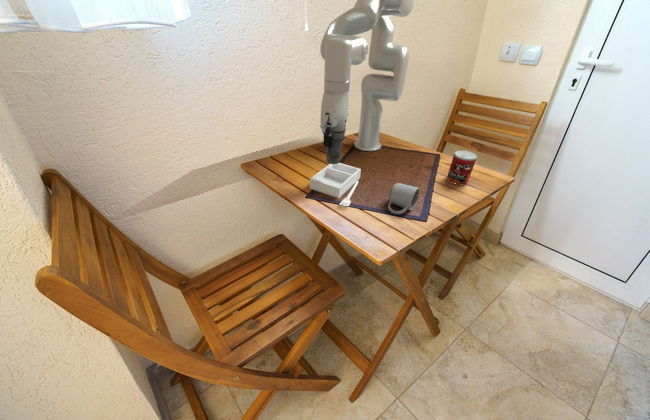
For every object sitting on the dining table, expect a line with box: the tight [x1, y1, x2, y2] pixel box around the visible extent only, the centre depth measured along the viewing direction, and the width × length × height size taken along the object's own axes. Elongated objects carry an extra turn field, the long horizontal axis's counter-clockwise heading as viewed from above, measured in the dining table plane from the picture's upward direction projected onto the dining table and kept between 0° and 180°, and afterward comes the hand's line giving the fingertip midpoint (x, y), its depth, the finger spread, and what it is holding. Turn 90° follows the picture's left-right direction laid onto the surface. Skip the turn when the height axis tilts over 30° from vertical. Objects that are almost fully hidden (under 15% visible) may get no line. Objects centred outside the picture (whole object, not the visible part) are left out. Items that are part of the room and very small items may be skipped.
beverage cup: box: [325, 120, 347, 165], centre depth 93 cm, size 7×7×20 cm
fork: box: [338, 180, 360, 207], centre depth 101 cm, size 3×20×2 cm, turn 159°
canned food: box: [446, 150, 478, 185], centre depth 108 cm, size 8×8×11 cm
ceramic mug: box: [388, 182, 420, 215], centre depth 93 cm, size 11×8×8 cm
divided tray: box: [309, 162, 362, 199], centre depth 106 cm, size 17×12×4 cm
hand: (334, 142), depth 95 cm, fingers closed on beverage cup, 7 cm apart
